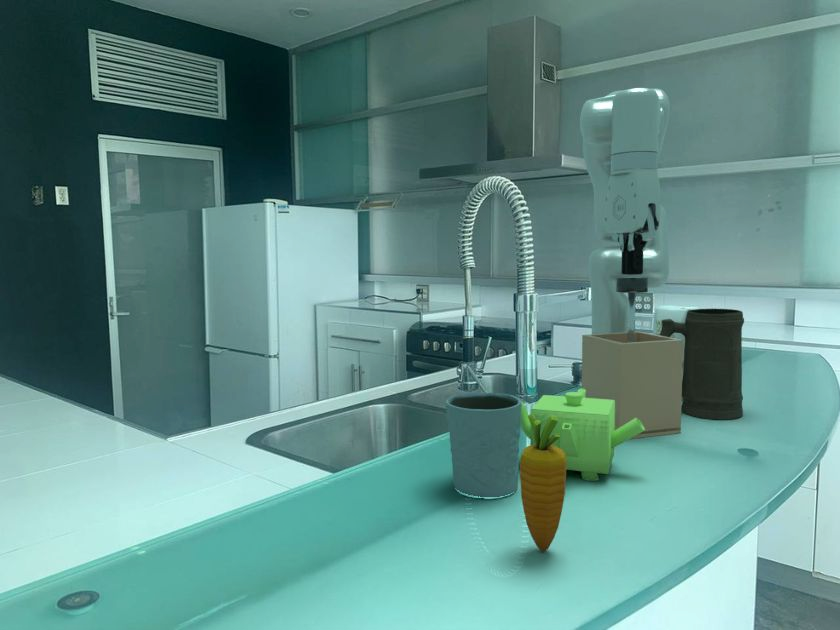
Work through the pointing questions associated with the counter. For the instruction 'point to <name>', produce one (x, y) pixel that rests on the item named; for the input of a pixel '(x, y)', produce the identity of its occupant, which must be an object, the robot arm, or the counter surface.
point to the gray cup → (484, 442)
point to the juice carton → (676, 315)
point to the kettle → (582, 430)
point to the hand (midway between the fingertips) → (632, 274)
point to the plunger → (631, 298)
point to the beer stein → (711, 362)
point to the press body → (636, 378)
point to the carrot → (543, 483)
